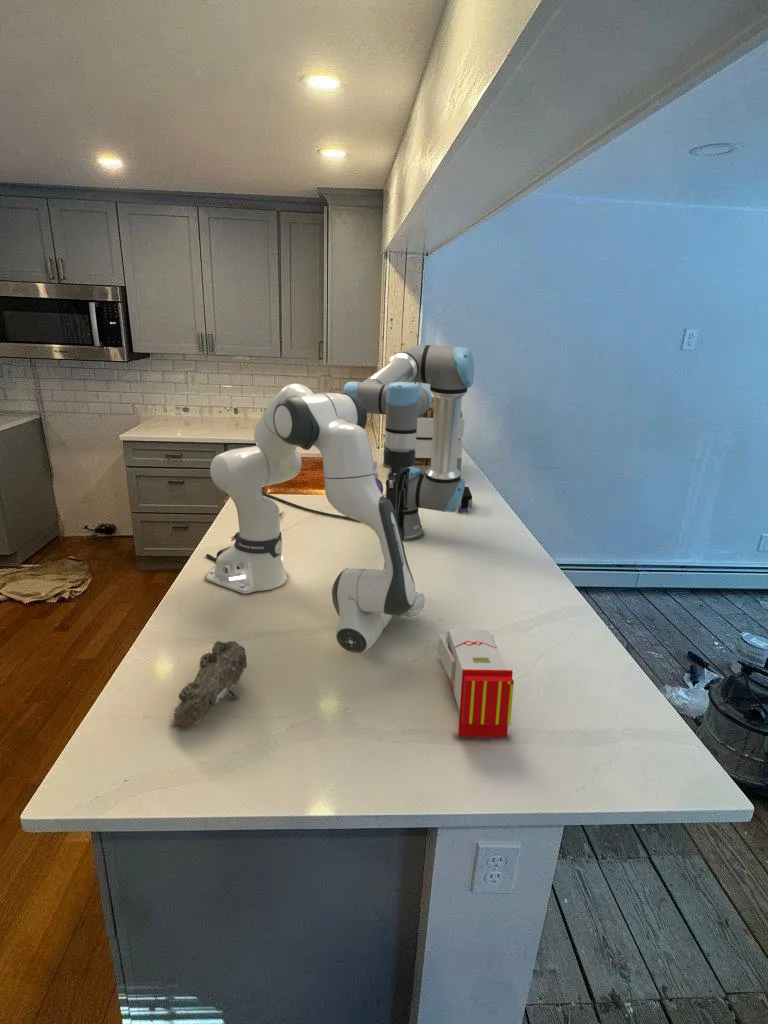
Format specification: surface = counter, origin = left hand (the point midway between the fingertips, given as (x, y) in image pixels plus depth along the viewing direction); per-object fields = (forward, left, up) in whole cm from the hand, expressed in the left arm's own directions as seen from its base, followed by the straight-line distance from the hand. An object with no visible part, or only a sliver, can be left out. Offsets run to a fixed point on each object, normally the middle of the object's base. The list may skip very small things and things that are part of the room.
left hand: (393, 584), depth 149 cm
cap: (0, -1, +16) cm, 16 cm away
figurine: (-36, +84, -6) cm, 92 cm away
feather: (-60, +48, -6) cm, 77 cm away
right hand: (0, -1, +14) cm, 14 cm away
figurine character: (+1, +86, -6) cm, 87 cm away
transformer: (-29, +129, -6) cm, 132 cm away
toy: (+26, -28, -6) cm, 39 cm away
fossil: (-21, -49, -6) cm, 54 cm away
